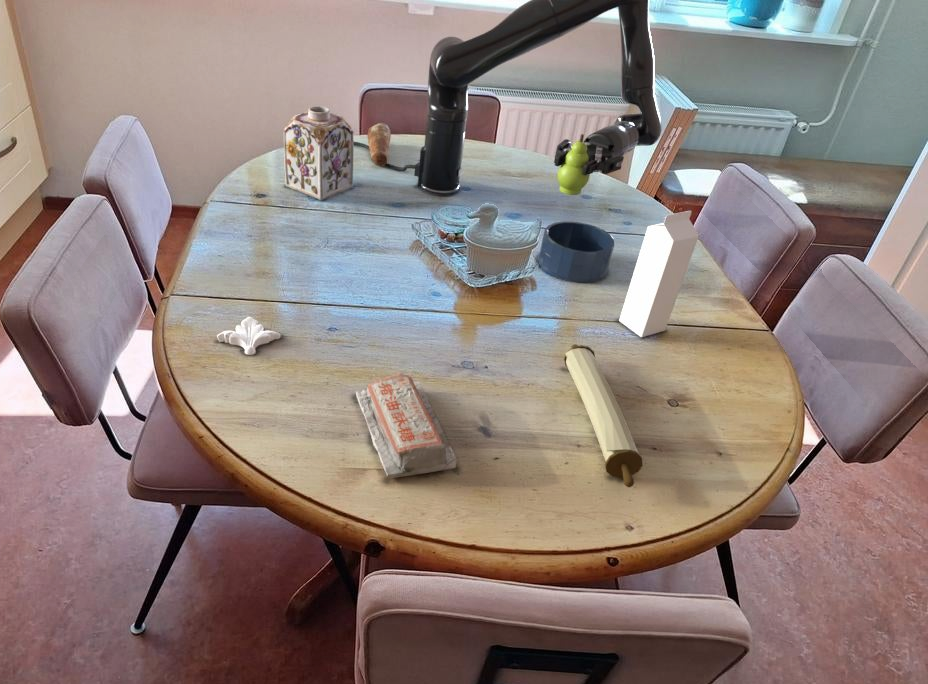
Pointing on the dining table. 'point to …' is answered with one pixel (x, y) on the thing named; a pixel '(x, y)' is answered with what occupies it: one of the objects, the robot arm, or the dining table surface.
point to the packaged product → (404, 427)
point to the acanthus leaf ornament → (248, 335)
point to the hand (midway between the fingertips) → (570, 165)
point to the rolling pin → (604, 414)
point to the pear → (574, 169)
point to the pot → (576, 251)
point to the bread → (379, 143)
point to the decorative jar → (318, 153)
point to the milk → (659, 274)
